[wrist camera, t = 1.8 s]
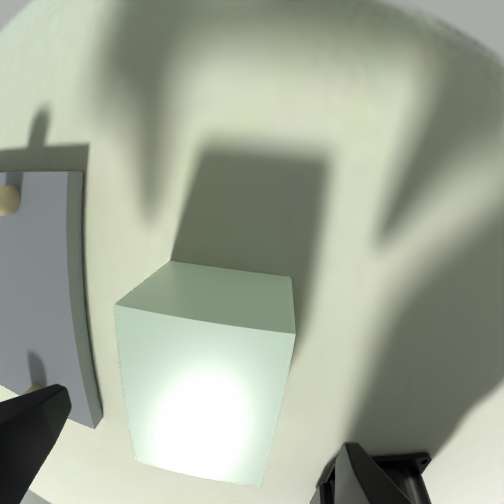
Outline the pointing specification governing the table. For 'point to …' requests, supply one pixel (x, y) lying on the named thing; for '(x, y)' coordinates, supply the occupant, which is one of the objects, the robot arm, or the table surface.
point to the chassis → (45, 289)
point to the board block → (205, 368)
